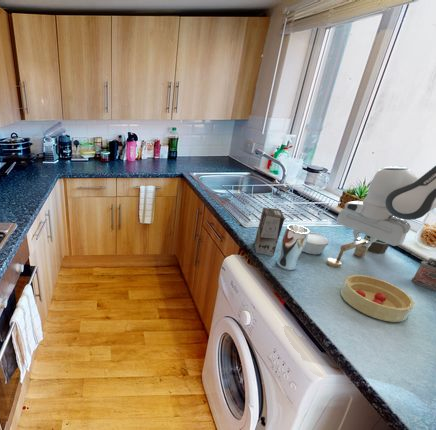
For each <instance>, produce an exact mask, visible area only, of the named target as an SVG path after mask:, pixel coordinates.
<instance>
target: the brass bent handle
mask: <svg viewBox="0 0 436 430" xmlns="http://www.w3.org/2000/svg"><path fill="white" fill-rule="evenodd" d="M365 241H369V240H366V239H364V238H363V239H361V240H359V241H356V242H354V241H353V242H350V243H349V242H348V243H345V244H343V245H341V246H340V250H339V252H338V253H339V254H338V256H337V257H336V258H333V257H328V258H326V261H325V264H326V265H328V266H330V267H332V268H335V269H338V268H341V266H342V261H341V260H342V257H343V254H344V253H345V252H346V251H350V250H352V249H354V251H353V255H354V256H355V257H356V256H357V257H358V258H361V259H363V258H365V257H366V254H367V252H368V248H369V247H365V246H363V244H364V242H365Z"/></svg>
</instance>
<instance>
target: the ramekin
mask: <svg viewBox="0 0 436 430" xmlns="http://www.w3.org/2000/svg"><path fill="white" fill-rule="evenodd" d="M329 242H330V241H329V240H328V238H326V237H325V236H323V235H321V234H319V233H317V232H312V231H309V234H308V238H307V242H306V244H305V247H304V249H303V250H302V252H303V253H305V254H309V255H320V254H322V253H323V252H324V250H325V248H326V247H327V246H328V245H329Z"/></svg>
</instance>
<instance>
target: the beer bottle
mask: <svg viewBox="0 0 436 430" xmlns="http://www.w3.org/2000/svg"><path fill="white" fill-rule="evenodd" d="M392 216H394V215H392ZM394 217H395V216H394ZM363 239H366V240H369V241H371V239H370V236H368V235H365V234H364V237H363ZM389 247H390V244H388V243H385V242H383V241H380V240H378V239H377V240H376V241H374V242H373V243H371V245H370V247H369V248H368V250H367V252H370V253H373V254H374V253H375V254H384V253H386V251H388V248H389Z"/></svg>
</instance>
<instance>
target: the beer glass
mask: <svg viewBox="0 0 436 430" xmlns="http://www.w3.org/2000/svg"><path fill="white" fill-rule="evenodd" d="M309 232H310V230H309V229H308V228H307V227H304V226H302V225H299V224H288V225H287V226H286V227H285V231H284V234H283V237H282V241H281V249H280V255H279V257H278V259H277V261H276V265H277V266H278V267H280V268H281V269H283V270H287V271H294V270H296V268H297V262H298V259H299V257H300V255H301V254H302V252H303V251H302V250H303V249H304V247H305V244H306V242H307V238H308V234H309Z"/></svg>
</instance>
